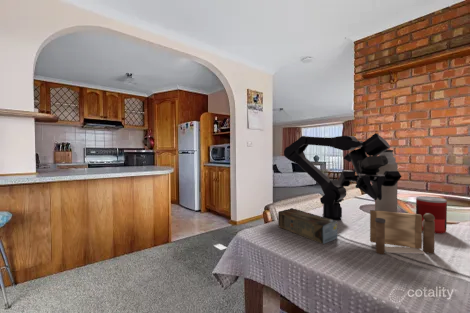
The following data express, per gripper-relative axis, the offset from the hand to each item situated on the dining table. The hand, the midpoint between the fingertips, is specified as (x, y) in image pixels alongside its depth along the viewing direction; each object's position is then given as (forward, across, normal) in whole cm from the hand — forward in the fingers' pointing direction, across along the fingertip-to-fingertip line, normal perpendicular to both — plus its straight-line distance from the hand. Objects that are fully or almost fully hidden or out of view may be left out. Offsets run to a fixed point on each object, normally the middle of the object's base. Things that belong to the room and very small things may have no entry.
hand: (378, 199), depth 72 cm
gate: (+14, 0, +2) cm, 14 cm away
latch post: (+17, -6, 0) cm, 18 cm away
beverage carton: (+7, -22, +11) cm, 26 cm away
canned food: (+4, +21, +14) cm, 26 cm away
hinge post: (+16, +7, +1) cm, 18 cm away
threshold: (+16, +1, +1) cm, 16 cm away
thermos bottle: (-9, +17, +26) cm, 33 cm away
